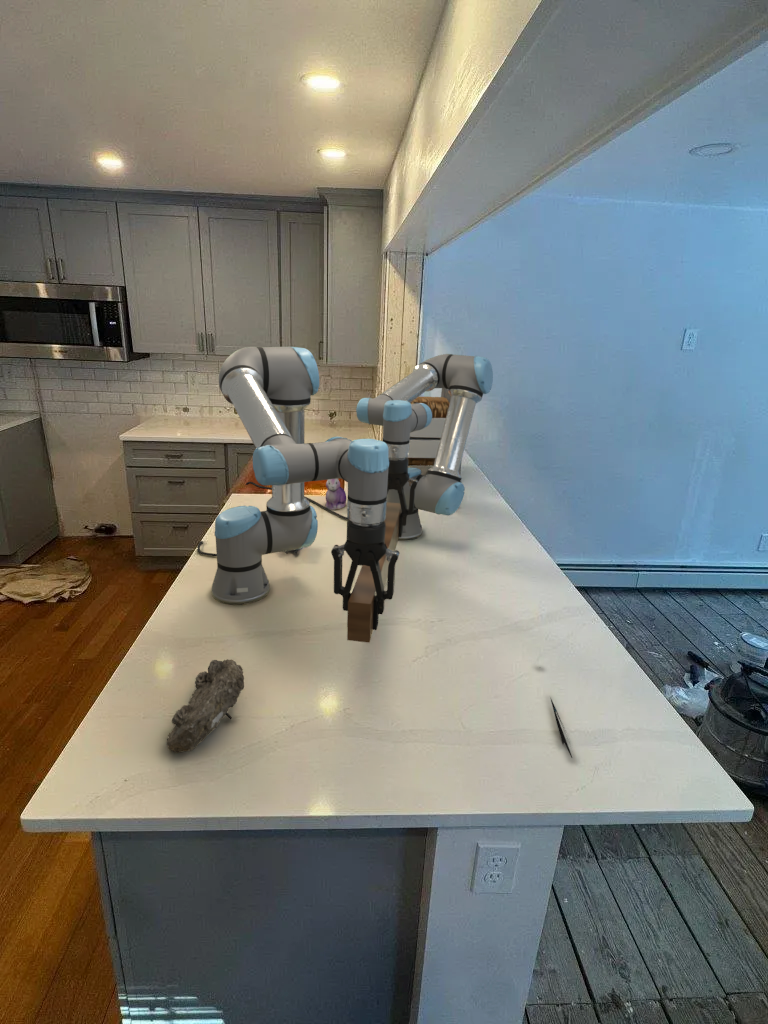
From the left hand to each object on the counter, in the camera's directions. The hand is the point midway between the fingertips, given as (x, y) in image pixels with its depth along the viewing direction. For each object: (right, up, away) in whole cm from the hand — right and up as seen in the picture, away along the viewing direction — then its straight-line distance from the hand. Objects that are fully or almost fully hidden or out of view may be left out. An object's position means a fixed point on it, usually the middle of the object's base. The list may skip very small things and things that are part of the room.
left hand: (362, 625), depth 118 cm
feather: (+39, -17, -3) cm, 42 cm away
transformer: (+22, +42, +157) cm, 164 cm away
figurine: (-15, +26, +107) cm, 111 cm away
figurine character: (-25, +12, +67) cm, 73 cm away
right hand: (+7, +17, +49) cm, 52 cm away
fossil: (-28, -16, -9) cm, 34 cm away
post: (+3, +8, +24) cm, 26 cm away
